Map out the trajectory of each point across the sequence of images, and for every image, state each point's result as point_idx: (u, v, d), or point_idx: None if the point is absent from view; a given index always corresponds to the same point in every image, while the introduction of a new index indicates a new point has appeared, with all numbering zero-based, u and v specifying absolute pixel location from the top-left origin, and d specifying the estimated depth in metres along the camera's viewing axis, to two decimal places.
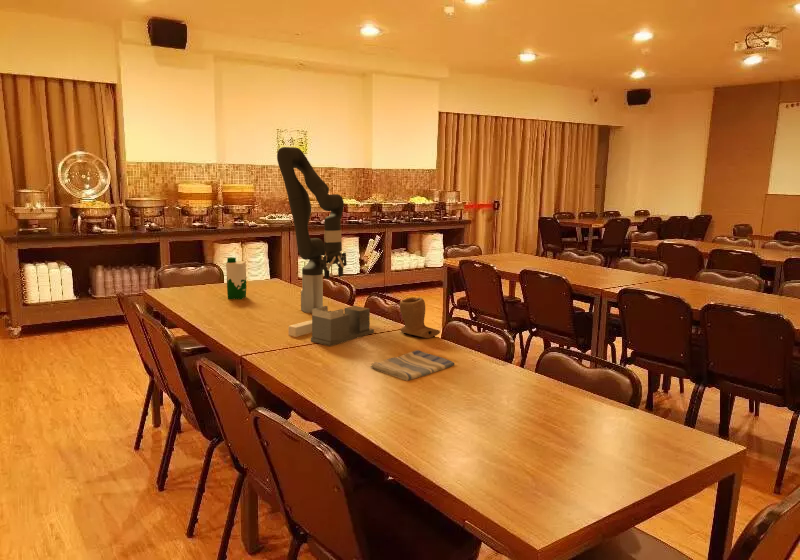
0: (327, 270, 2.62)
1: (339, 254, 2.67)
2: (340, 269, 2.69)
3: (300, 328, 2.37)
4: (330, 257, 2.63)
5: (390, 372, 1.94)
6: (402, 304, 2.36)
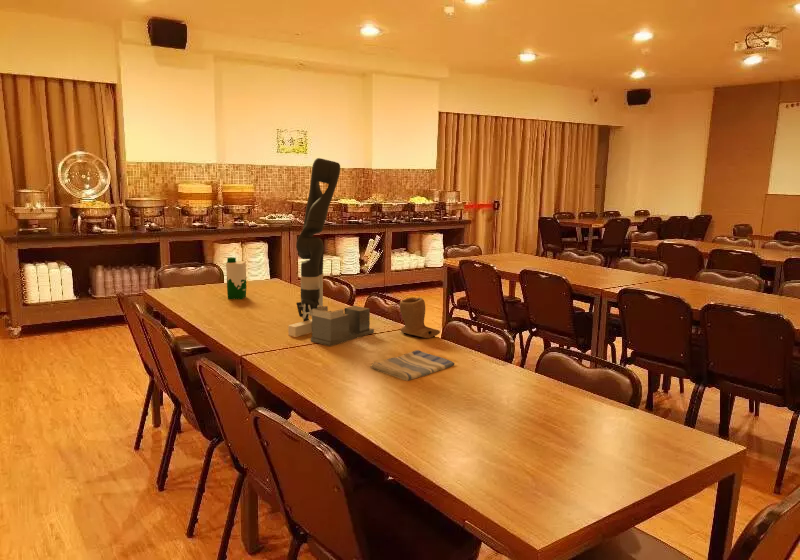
0: None
1: None
2: None
3: (300, 327, 2.37)
4: None
5: (390, 372, 1.93)
6: (402, 304, 2.36)
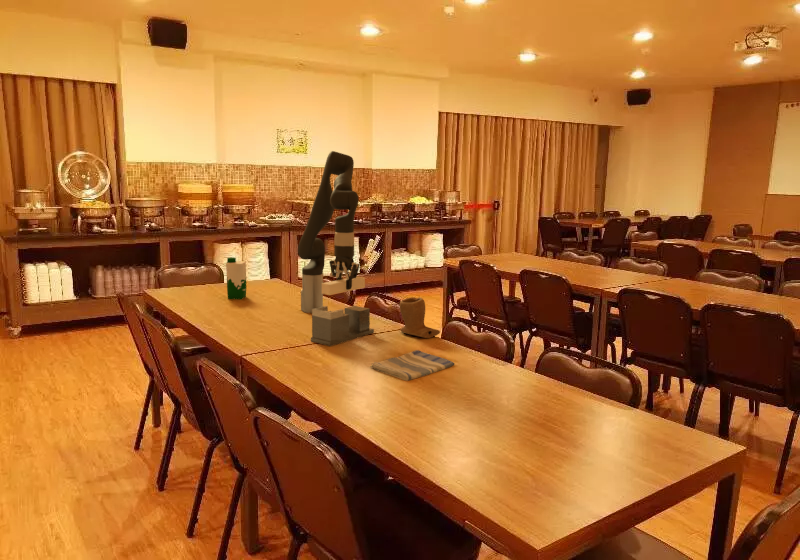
0: (350, 279, 2.32)
1: None
2: None
3: (334, 285, 2.26)
4: None
5: (390, 372, 1.93)
6: (402, 304, 2.36)
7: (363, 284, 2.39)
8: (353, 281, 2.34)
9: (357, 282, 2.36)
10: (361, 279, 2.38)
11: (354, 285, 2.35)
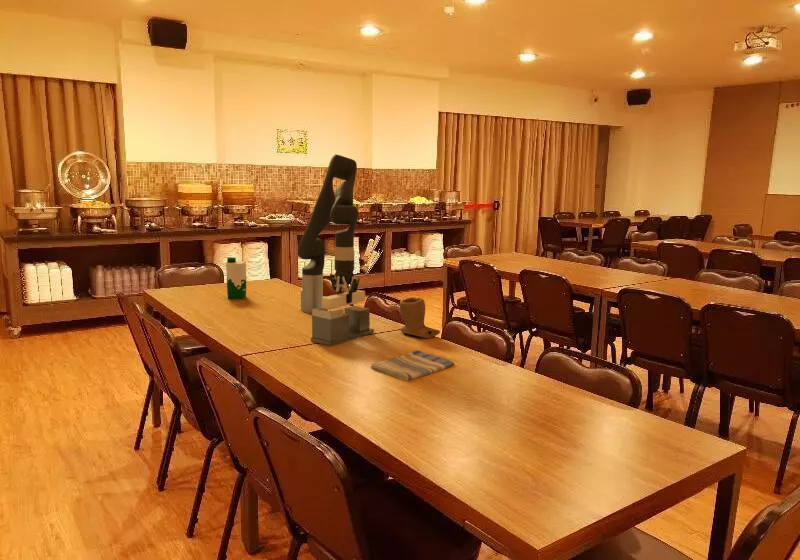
0: None
1: None
2: None
3: (334, 300, 2.27)
4: None
5: (390, 372, 1.93)
6: (402, 304, 2.36)
7: (363, 298, 2.40)
8: (353, 295, 2.35)
9: (357, 296, 2.37)
10: (361, 293, 2.39)
11: (354, 299, 2.36)
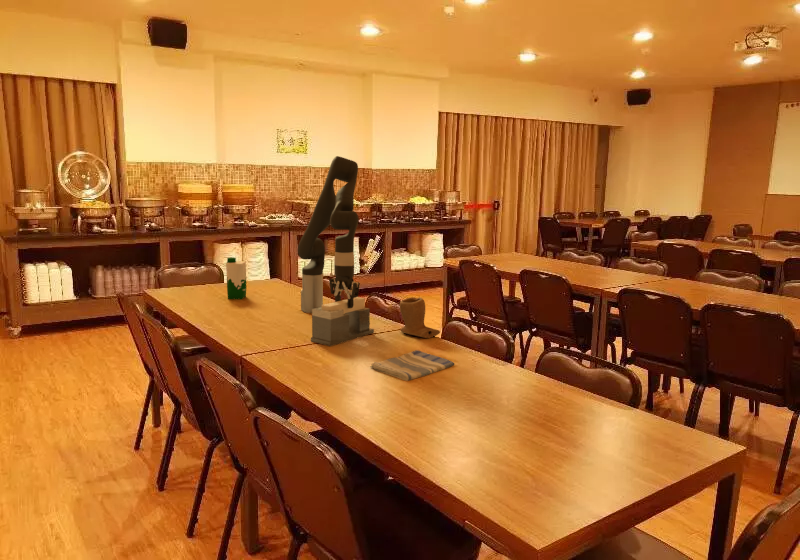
0: None
1: None
2: (339, 297, 2.36)
3: (334, 307, 2.27)
4: None
5: (390, 372, 1.93)
6: (402, 304, 2.36)
7: (363, 305, 2.41)
8: (353, 302, 2.36)
9: (357, 303, 2.38)
10: (361, 300, 2.39)
11: (354, 306, 2.36)
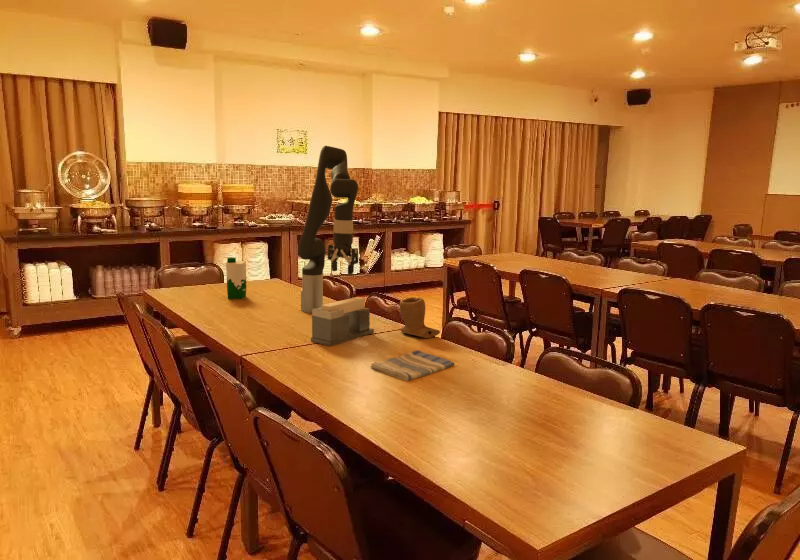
0: None
1: None
2: (336, 263, 2.40)
3: (334, 307, 2.27)
4: None
5: (390, 372, 1.93)
6: (402, 304, 2.36)
7: (363, 305, 2.41)
8: (353, 302, 2.36)
9: (357, 303, 2.38)
10: (361, 300, 2.39)
11: (354, 306, 2.36)
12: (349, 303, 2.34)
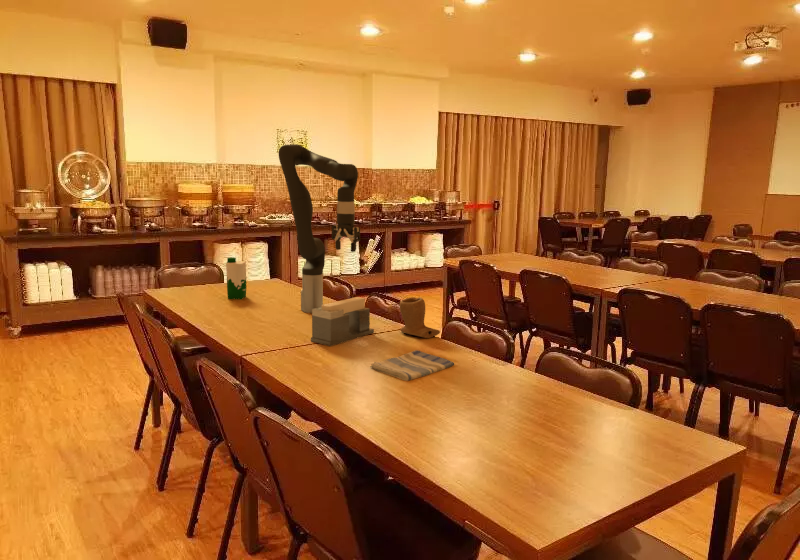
0: None
1: None
2: (339, 242, 2.60)
3: (334, 307, 2.27)
4: None
5: (390, 372, 1.93)
6: (402, 304, 2.36)
7: (363, 305, 2.41)
8: (353, 302, 2.36)
9: (357, 303, 2.38)
10: (361, 300, 2.39)
11: (354, 306, 2.36)
12: (349, 303, 2.34)
